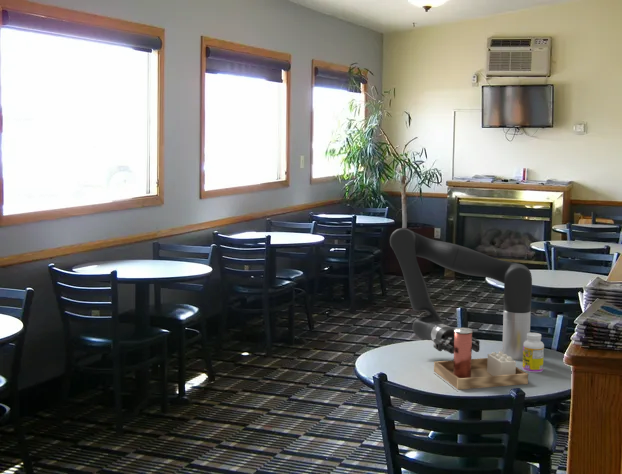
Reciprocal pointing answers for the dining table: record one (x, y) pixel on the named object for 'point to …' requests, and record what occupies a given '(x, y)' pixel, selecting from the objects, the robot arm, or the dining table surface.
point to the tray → (478, 375)
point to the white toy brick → (500, 364)
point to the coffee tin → (462, 352)
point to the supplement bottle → (533, 353)
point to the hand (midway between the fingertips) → (465, 349)
